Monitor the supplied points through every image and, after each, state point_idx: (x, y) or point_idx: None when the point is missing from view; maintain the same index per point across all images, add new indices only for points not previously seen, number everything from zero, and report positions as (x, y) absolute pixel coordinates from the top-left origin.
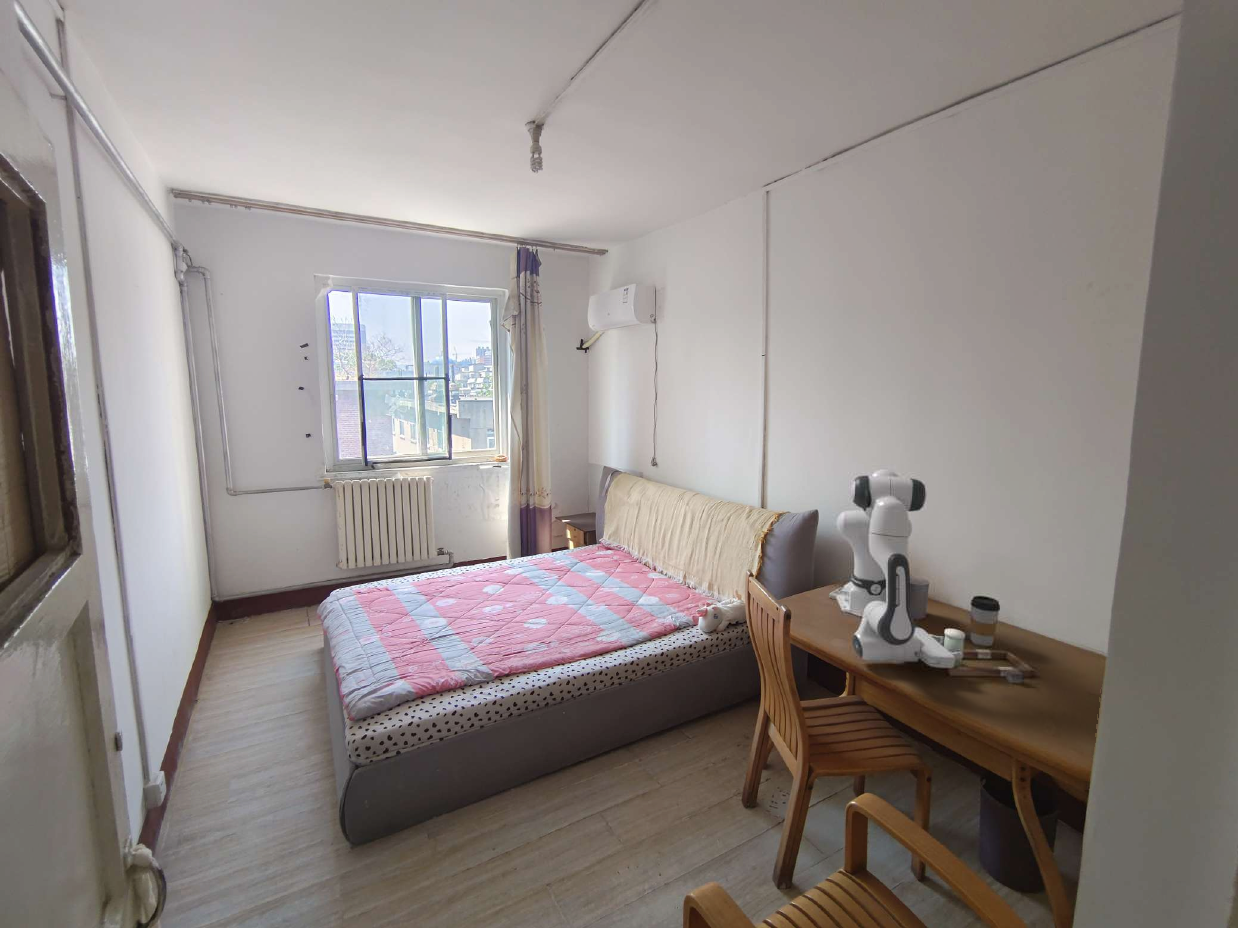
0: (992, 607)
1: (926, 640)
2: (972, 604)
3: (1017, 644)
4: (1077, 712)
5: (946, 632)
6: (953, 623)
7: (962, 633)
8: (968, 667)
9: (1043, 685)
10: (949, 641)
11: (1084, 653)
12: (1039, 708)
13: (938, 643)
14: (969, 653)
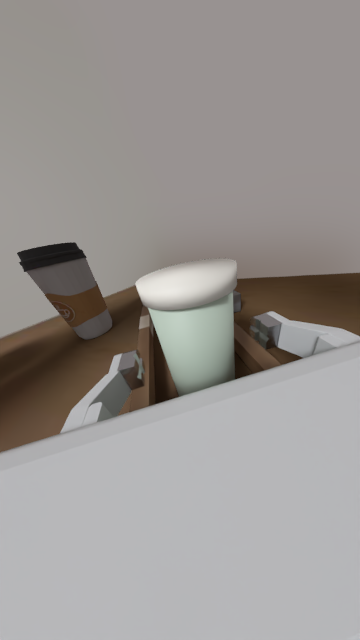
0: (78, 250)
1: (288, 556)
2: (35, 265)
3: (115, 307)
4: (282, 279)
5: (199, 281)
6: (17, 354)
7: (186, 264)
8: (245, 345)
9: None
10: (226, 318)
11: None
12: (316, 292)
13: (276, 381)
14: (150, 339)
